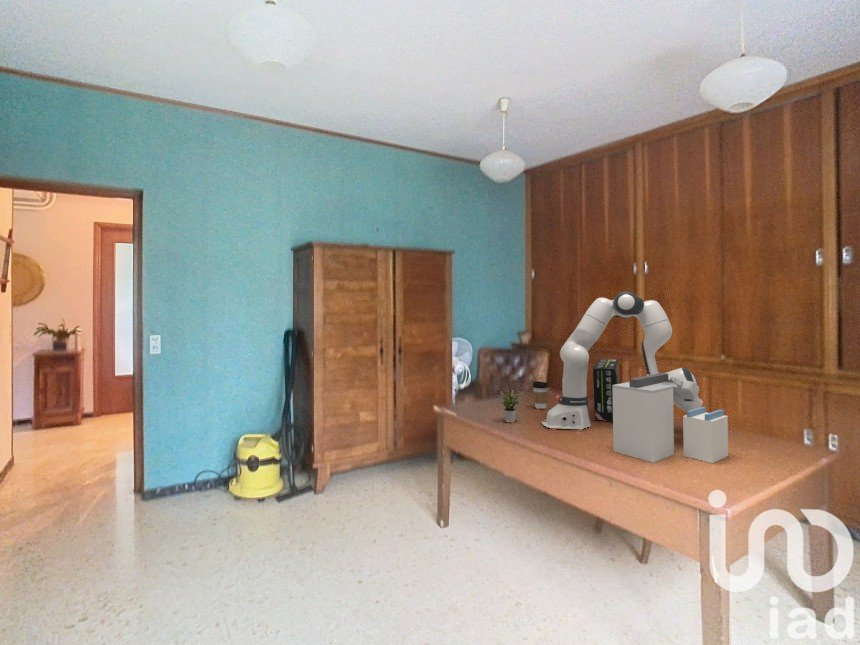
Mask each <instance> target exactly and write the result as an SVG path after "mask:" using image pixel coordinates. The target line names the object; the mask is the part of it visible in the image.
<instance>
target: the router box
mask: <svg viewBox="0 0 860 645" xmlns="http://www.w3.org/2000/svg"><path fill="white" fill-rule="evenodd" d="M619 368H620V366H619V359H609V358H608V359H607V358H599V359H597V361H596V362H595V364H594V365H593V366H592V383H593V386H592V387H593V411H594V412H593V414H594V417H593V419H595V420H604V421H605V420H606V421H613V387H612V385H616V384H620V373H619ZM604 421H603V422H604Z"/></svg>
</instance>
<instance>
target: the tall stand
mask: <svg viewBox="0 0 860 645" xmlns="http://www.w3.org/2000/svg"><path fill="white" fill-rule="evenodd" d="M612 387H613V422H612V424H613V425H612V431H613V432H612V434H613V437H612V438H613V445H612V446H613V453H616V452H618V454H620V453H621V455H624V454H625V456H627V455H628V457H631V456H632V457H631V458H635V459H638V458H639V459H638V460H642V461H646V462H650V463H657V462H659V461H662V460H664V459H667V458H669V457H671V456H674V455H675V443H674V442H675V436H674V435H675V430H674V428H675V427H674V424H675V423H674V403H673V386H669V385H661V384H653V385H649V386H644V387H640V388H633V387H630V383H629V381H626V382H622V383H619V384H616V385H612Z"/></svg>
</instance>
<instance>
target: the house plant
mask: <svg viewBox="0 0 860 645" xmlns="http://www.w3.org/2000/svg"><path fill="white" fill-rule="evenodd" d="M500 394H501V395H500ZM500 394H499V397H501V399H503V401H499V402H498V404H502V405H503V406H504V407H505V408H503V409H502V412H503V416H504V421H505V420H509V421H514V420H516V421H517V416H518V409H517V407H516V406H515V405H518V404H520V405H522V402H520V399H518V400H517V398H520V396H521V395H523V394H524V392H523V391H522V392H520V393H518V394H517V395H514V389H512V390H511V393H510V392H509V390H507V394H506V395H505V393H503V392H502V391H500Z"/></svg>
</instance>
